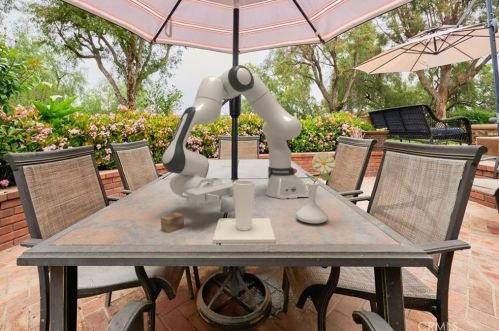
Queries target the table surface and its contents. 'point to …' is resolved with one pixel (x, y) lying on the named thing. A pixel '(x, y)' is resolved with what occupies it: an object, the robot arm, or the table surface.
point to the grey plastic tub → (227, 204)
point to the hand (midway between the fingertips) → (229, 195)
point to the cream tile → (244, 232)
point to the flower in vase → (312, 210)
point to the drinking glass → (243, 203)
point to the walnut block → (172, 222)
